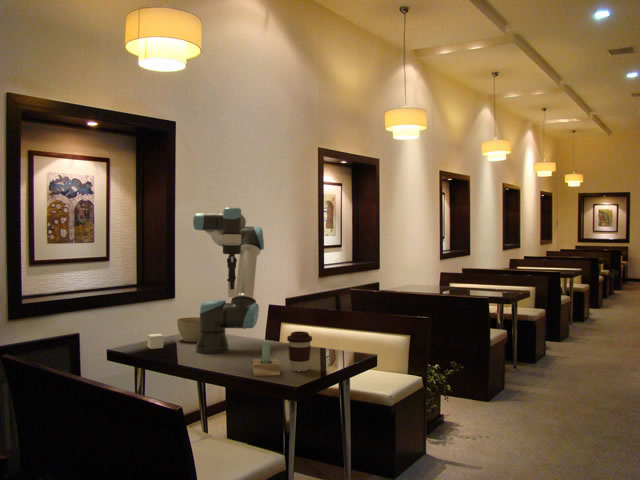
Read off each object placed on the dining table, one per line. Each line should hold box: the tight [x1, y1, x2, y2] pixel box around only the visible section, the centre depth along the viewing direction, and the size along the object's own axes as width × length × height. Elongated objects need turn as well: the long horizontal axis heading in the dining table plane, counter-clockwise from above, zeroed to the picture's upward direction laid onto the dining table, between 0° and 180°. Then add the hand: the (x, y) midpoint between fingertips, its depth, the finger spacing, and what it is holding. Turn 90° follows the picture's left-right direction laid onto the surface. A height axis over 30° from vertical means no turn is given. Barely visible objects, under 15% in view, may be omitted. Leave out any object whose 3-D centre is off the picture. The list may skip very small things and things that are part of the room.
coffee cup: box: [286, 331, 313, 373], centre depth 226 cm, size 10×10×15 cm
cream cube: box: [146, 333, 164, 350], centre depth 267 cm, size 6×6×6 cm
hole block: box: [252, 358, 281, 377], centre depth 222 cm, size 10×10×4 cm
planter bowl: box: [176, 316, 200, 343], centre depth 285 cm, size 16×16×11 cm
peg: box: [261, 340, 271, 363], centre depth 222 cm, size 3×3×12 cm
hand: (231, 295), depth 235 cm, fingers open, 13 cm apart
